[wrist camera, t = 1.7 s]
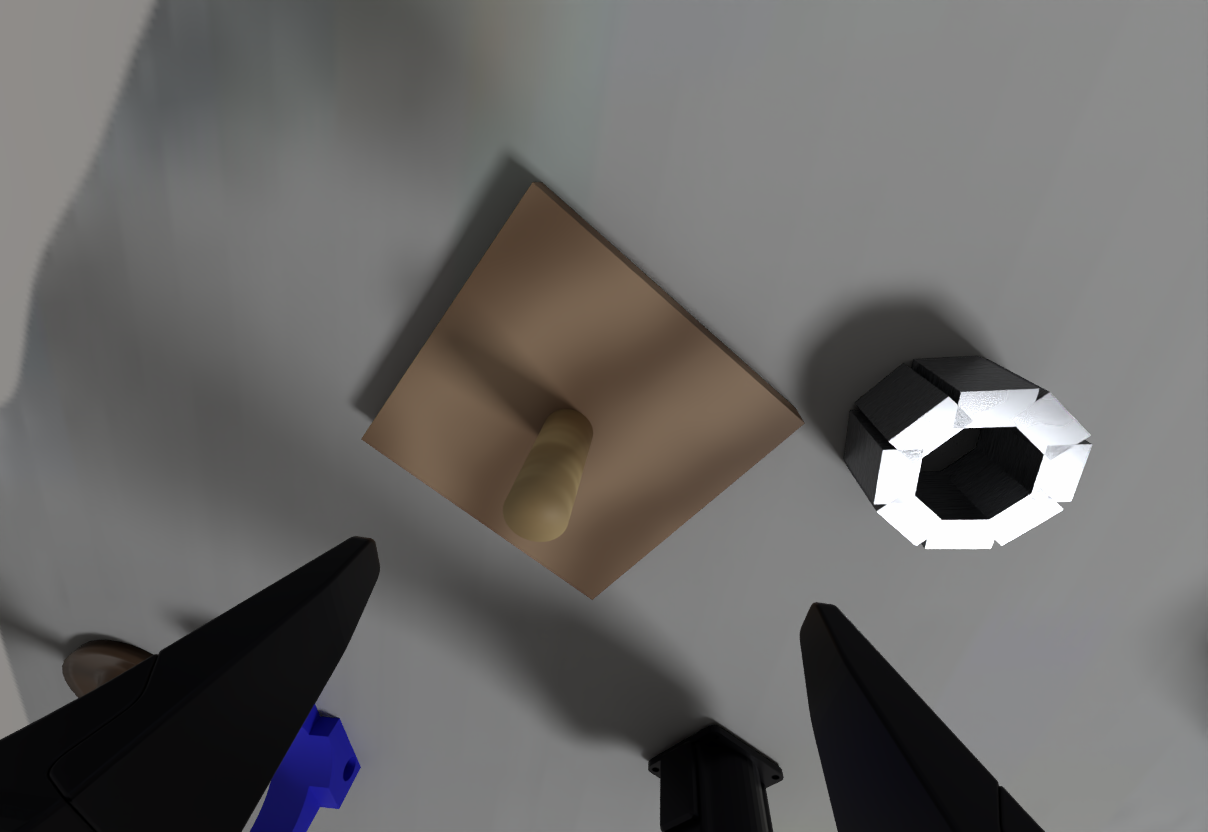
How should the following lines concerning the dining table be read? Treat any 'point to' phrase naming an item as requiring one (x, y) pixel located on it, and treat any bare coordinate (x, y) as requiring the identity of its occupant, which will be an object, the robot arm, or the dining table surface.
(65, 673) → the candlestick
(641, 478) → the post block
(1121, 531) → the dining table surface
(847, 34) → the dining table surface
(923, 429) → the ring
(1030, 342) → the dining table surface
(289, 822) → the cable clip
